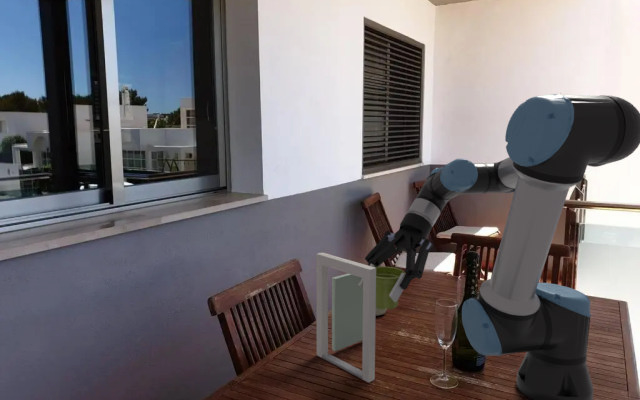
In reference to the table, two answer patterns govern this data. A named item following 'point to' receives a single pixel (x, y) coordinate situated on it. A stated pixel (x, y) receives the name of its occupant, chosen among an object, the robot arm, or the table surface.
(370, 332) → the door frame
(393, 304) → the plant pot
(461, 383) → the table surface
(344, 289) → the door
